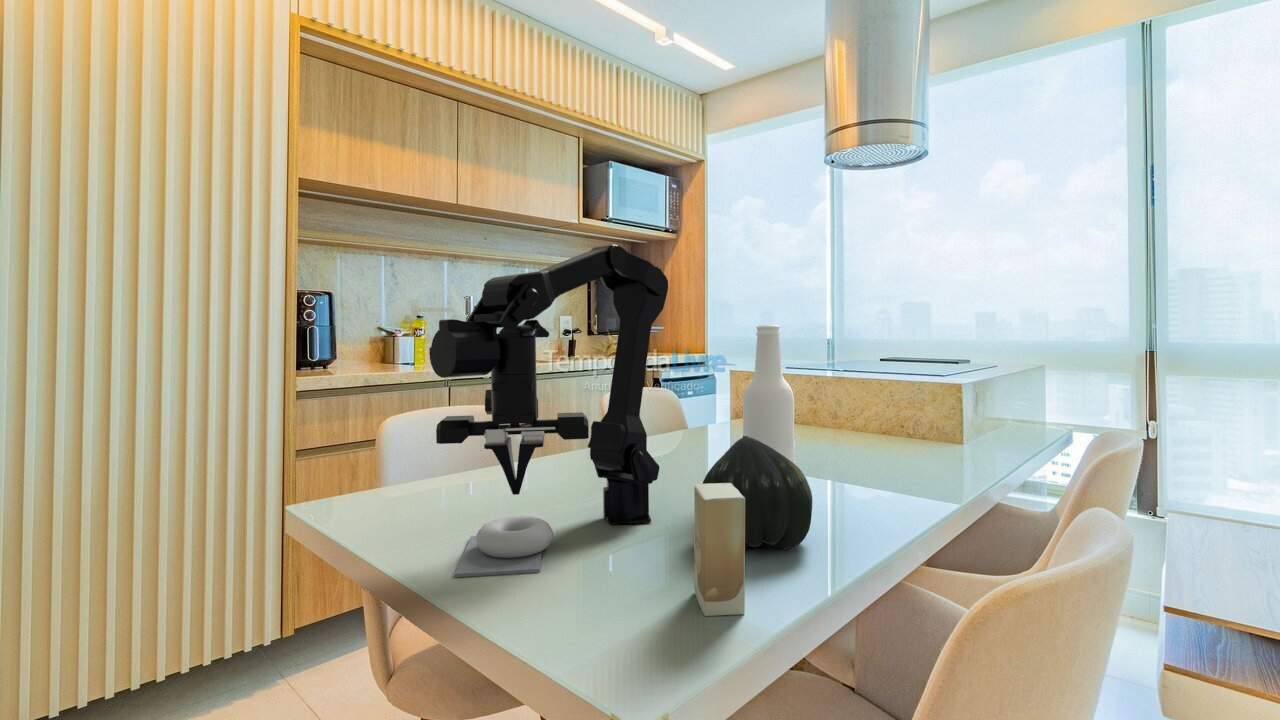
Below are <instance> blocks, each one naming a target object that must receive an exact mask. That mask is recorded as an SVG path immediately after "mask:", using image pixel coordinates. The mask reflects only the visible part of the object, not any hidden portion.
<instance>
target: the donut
mask: <svg viewBox="0 0 1280 720" xmlns="http://www.w3.org/2000/svg"><path fill="white" fill-rule="evenodd" d="M475 536H476V541H477V546H478V548H479V549H480V550H481V551H482V552H484V553H485V554H486V555H490V556H493V557H498V558H519V557H526V556H530V555H533V554H536V553H538V552H540V551H541V552H542V551H544V550H545V549H546V548H548V546H550V543H551V541H552V539H553V538H554V537H553V536H554V533H553V528H552V527H551V525H550V523H549V522H547V521H546V520H544V519H542V518H540V517H536V516H531V515H515V516H514V515H513V516H504V517H500V518H496V519H492V520H491V521H489V522H486V523H484V524H483V525H482V527H480V529H478V532H477V533H476V535H475Z"/></svg>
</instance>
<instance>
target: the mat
mask: <svg viewBox="0 0 1280 720" xmlns="http://www.w3.org/2000/svg"><path fill="white" fill-rule="evenodd" d="M476 536H477V535H474V536H473V535H472V536H470V538H469V541H468V542H467V544H466V547H465V549H464V552H463V553H462V557H461V559H460V561H459V563H458V566H457V568H456V570H455V572H454V578H464V577H465V578H466V577H467V578H469V577H482V576H483V577H484V576H497V575H498V576H499V575H511V574H512V575H516V574H528V573H531V574H532V573H540V572H541V566H542V565H541V563H542V562H541V561H542V551H540V552H538V553H536V554H533V555H530V556H526V557H519V558H498V557H493V556H490V555H486V554H485V553H484V552H482V551H481V550H480V549H479V548H478V546H477V541H476Z"/></svg>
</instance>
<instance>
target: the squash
mask: <svg viewBox="0 0 1280 720" xmlns="http://www.w3.org/2000/svg"><path fill="white" fill-rule="evenodd" d="M714 483H732V484H733V486H734V487H735V488H736V489H738V490H739V492H740V493H741V494H742V496H743V497H744V498H745V549H746V548H749V547H751V548H759V547H760V546H761V545H762V544H763V542H764V543H765V544H766V545H771V546H773V547H774V548H778V549H781V550H787V549H792V548H795V547H797V546H798V545H801V543H802V542H803V541H804V540H805V538H806V537H807V536H808V534H809V531H810V528H811V522H812V517H813V515H812V513H813V494H812V490H811V488H810V485H809V482H808V480H807V477H806V476H805V474H804V473H803V471H802V470H801V469H800V468H799V466H798V465H796V464H795V462H794V463H793V462H791V461H790V460H789V459H787V458H786V457H785V456H783V455H782V454H780V453H778V452H777V451H775V450H774V449H772V448H771V447H769V446H767V445H766V444H764V443H762V442H760V441H758V440H756V439H753V438H749V437H748V436H743V435H742V437H741V438H739V439H738V440H736V441H735V442H734V444H732V445H731V446H730V447H729V448H728V450H726V452H725V453H724V454H723V455H722V456H721V457H720V458H719V459H718V460H717V461H716V462H714V464H713V465H712V466H711V468H710V469H709V471H707V473H706V475H705V478H704V479H703V482H702V484H714Z"/></svg>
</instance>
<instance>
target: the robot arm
mask: <svg viewBox="0 0 1280 720" xmlns="http://www.w3.org/2000/svg"><path fill="white" fill-rule="evenodd" d="M598 279H600V281H601V284H602V286H603V287H604V288H605V289H607V290H608V291H610V292H611V294H612V293H613V295H612V297H613V299H612V300H613V301H612V302H613V306H614V310H615V312H616V314H617V317H618V319H619V327H618V335H617V341H616V342H617V343H616V349H615V355H614V364H613V371H612V375H611V376H612V378H611V384H610V393H609V399H608V406H607V412H606V413H605V414H604V416H603V417H602V419H601V420H600V421H595V420H594V421H592V424H591V427H590V437H589V418H588V416H587V415H586V414H584V412H581V411H580V412H557V417H556V418H552V419H551V418H549V419H545V418H544V419H539V399H538V396H537V395H538V393H537V391H538V390H537V387H538V385H537V338H548V337H550V332H549V331H548V330H547V329H546V328H545V327H543V325H541V323H540V322H539V320H538V319H535V318H537V317H538V316H540V315H541V314H542V313H544V311H546V310H548V309H549V308H550V307H551V306H552V305H553V303H554V302H555V300H556V299H558V297H560V296H561V295H563V294H566V293H568V292H571V291H573V290H575V289H577V288H580V287H582V286H584V285H586V284H588V283H591V282H594V281H595V280H598ZM668 291H669V280H668V278H667V276H666V275H665V273H664V272H663V270H662V269H661V268H660V267H658V266H656V265H654V264H652V263H651V262H650V261H648V260H647V259H644V258H641V257H639V256H637V255H634V254H631V253H629V252H628V251H627V250H626V249H624V247H622V246H620V245H617V244H608V245H600V246H595V247H592V248H591V249H590V250H589V251H586V252H583V253H581V254H579V255H575V256H573V257H571V258H568V259H566V260H563V261H561V262H558V263H555V264H552V265H550V266H548V267H545V268H542V269H540V270H537V271H531V272H525V273H523V272H522V273H517V274H510V275H503V276H501V275H500V276H496V277H492V278H489V279H488V280H487V281H485V283H484V285H483V290H482V293H481V297H480V299H479V301H478V302H477V304H476V306H475V307H474V308H473V310H472V312H471V313H470V315H469V316H468V318H467V320H466V321H464V320H461V319H460V320H459V319H454V318H453V319H451V318H449V319H440V320H439V321H438V330H437V331H436V333H435V334H434V335H433V338H432V340H431V346H430V347H429V351H428V352H429V353H428V354H429V361H430V365H431V367H432V370H433V372H434V373H435V375H436V376H438V377H439V378H442V379H445V378H459V377H460V378H462V377H476V376H477V377H478V376H487V375H489V374H490V379H491V382H490V383H491V384H490V386H491V387H490V388H491V389H485V392H484V393H485V395H484V411H485V413H486V415H491V420H486V421H485V420H484V421H483V420H481V421H478V420H477V421H475V416H474V415H448V416H445V417H444V418H443V419H442V420H440V421H439V422H438V423H437V425H436V428H435V429H436V430H435V431H436V432H435V433H436V435H435V436H436V439H435V440H436V444H439V445H446V444H450V445H451V444H462V443H463V442H465V440H466V439H468V438H469V437H476V436H478V437H479V436H481V437H482V436H483V437H484V439H485V443H484V444H483V449H485V450H491V451H492V452H493V454H494V456H495V458H496V459H497V461H498V462H499V464H500V466H501V469H502V471H503V472H504V476H505V478H506V480H507V483H508V485H509V488H510V492H511V494H512V495H513V496H515V495H517V496H518V495H520V492H521V488H522V485H523V482H524V478H525V475H526V472H527V468H528V465H529V463H530V461H531V459H532V456H533V454H534V451H535V449H537V448H543V447H544V443H545V434H557V435H558V436H559V437H560V438H561V439H563V440H564V441H567V440H568V441H569V440H586V439H589V438H590V439H589V442H588V445H587V448H589V449H590V450H589V457H590V460H591V461H592V463H593V465H594V468H595V472H596V475H597V477H598V478H603V479H606V486H603V488H602V501H603V502H602V504H603V505H602V507H603V509H602V511H603V516H604V517H605V519H607V520H606V521H607V523H608V524H609V525H621V524H622V525H625V524H626V525H627V524H641V523H645V524H646V523H651V522H652V518H651V516H650V509H649V508H650V506H649V505H650V499H649V497H650V492H649V490H650V489H649V485H650V484H653V482H655V481H657V480H658V478H659V477H658V476H659V473H660V465H659V464H658V463H657V462H656V460H655V458H654V457H653V456H652V455H651V453H649V451H648V450H647V449H648V448H647V445H648V444H647V443H648V442H647V441H648V436H647V432H646V431H647V430H645V427H644V426H645V425H644V424H643V420H642V418H641V416H640V415H641V407H642V406H641V405H642V398H643V391H644V383H645V377H646V369H647V361H648V354H649V346H650V340H651V339H650V338H651V332H652V331H651V330H652V326H653V324H654V323H655V321H656V319H657V318H658V317H659V315H661V313H662V311H663V310H664V309H665V308H664V307H665V303H666V300H667V296H668ZM522 322H523V324H522V325H521V323H522ZM498 328H500V329H501V330H500V331H499V332H497V329H498ZM510 435H512V436H513V435H521V436H520V437H521V440H520V442H519V448H518V456H517V458H518V459H517V466H516V468H517V469H516V470H515V463H514V462H515V461H514V455H513V445H512V444H513V443H512V437H511V436H510Z"/></svg>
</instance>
